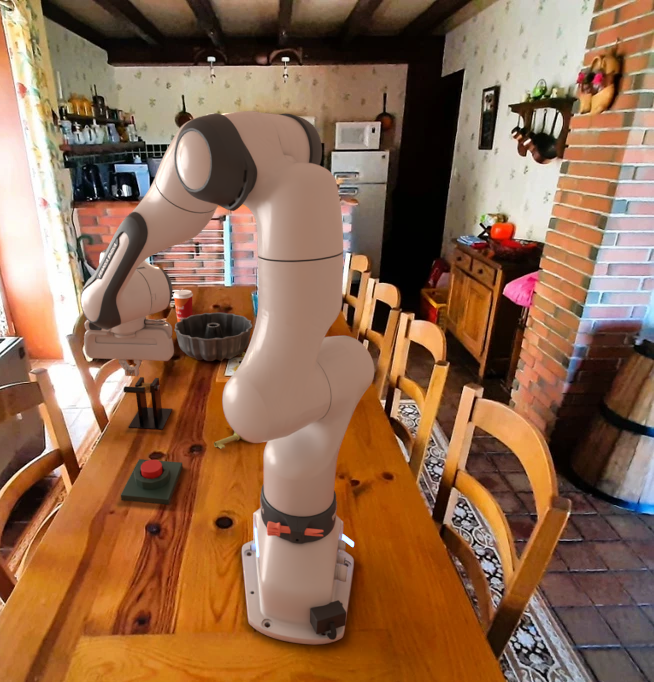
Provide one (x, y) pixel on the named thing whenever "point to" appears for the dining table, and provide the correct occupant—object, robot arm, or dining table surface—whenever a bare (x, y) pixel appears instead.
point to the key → (228, 440)
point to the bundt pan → (213, 335)
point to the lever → (138, 389)
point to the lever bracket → (150, 409)
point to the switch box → (152, 484)
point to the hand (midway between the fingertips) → (132, 375)
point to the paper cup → (183, 304)
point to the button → (151, 469)
